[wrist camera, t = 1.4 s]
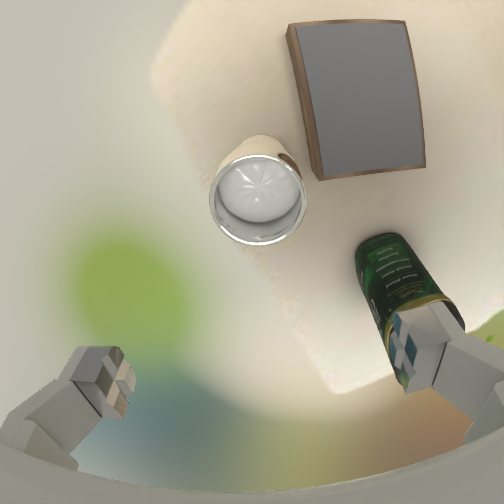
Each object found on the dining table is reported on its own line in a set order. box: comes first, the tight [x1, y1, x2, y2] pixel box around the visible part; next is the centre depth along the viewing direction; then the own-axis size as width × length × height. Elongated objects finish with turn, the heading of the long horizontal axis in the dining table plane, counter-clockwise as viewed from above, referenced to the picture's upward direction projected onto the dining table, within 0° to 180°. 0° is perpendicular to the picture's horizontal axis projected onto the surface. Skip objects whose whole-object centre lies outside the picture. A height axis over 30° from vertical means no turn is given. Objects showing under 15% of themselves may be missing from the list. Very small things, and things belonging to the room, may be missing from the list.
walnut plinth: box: [286, 19, 426, 181], centre depth 27 cm, size 12×16×5 cm
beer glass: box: [209, 135, 307, 246], centre depth 27 cm, size 7×7×15 cm
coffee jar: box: [355, 233, 465, 385], centre depth 31 cm, size 10×8×19 cm
